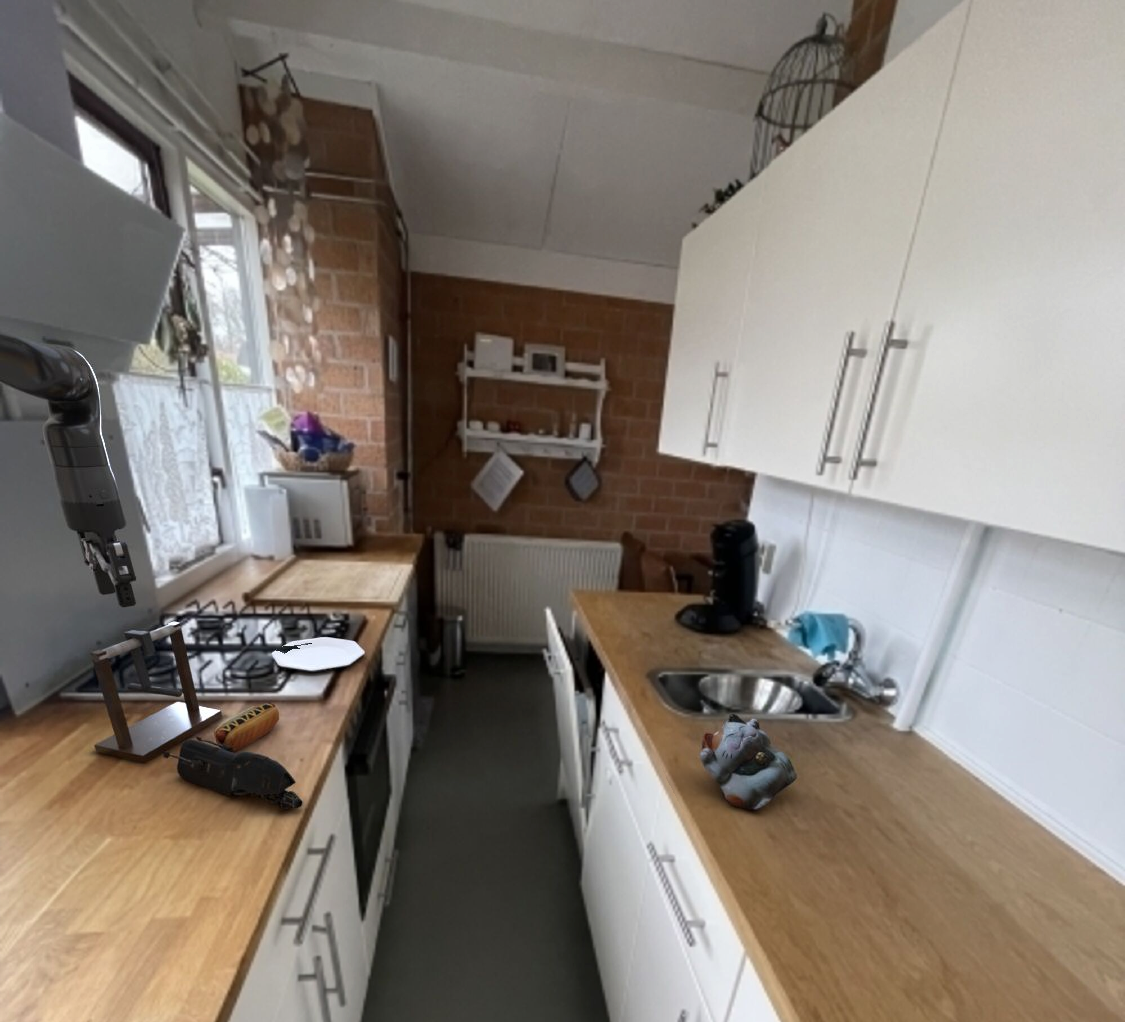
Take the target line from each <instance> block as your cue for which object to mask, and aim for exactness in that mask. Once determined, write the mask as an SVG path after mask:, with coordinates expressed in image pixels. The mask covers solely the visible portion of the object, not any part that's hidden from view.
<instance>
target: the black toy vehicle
mask: <svg viewBox="0 0 1125 1022" xmlns="http://www.w3.org/2000/svg"><path fill="white" fill-rule="evenodd" d="M195 738H196V739H192V738H191V739H189V738H188V739H185V740H184V742H183V743H182V744H181V747H180V750H179V755H176V754H175V753H171V752H169V751H167V750H166V751H165V752H163V758H164V759H166V760H167V759H168V758H169V757H171V758H175V759H177V765H176V772H177V774H178V776H179V777H180V778H181V779H183V780H185V781H188V782H191V783H194V784H196V785H199V786H200V787H205V788H207V789H209V790H213V791H215V792H217V793H221V794H223V795H226V796H228V797H231V798H233V797H234V796H235V795H236V796H245V795H249V794H251V796H252V797H255V798H257V799H261V800H265V801H267V803H269V804H272V805H275V806H278V807H281V808H282V809H283V810H294V809H299V808H301V807H302V806H303V802H304V801H303V800H302V799H301V798H300V797H299V795H298V794H297V793H296V792H295V791H293V790H289V791H288V790H287V789H288V788H290V787H291V786H293V785H295V784H297V782H296V780H295V778H294V777H293V776H292V774H290V773H289V772H290V771H288V770H287V769H286V767H285V766H283V765H282V764H281V763H280V762H278V761H277V760H275V759H272V758H270V757H269V756H266V755H263V754H260V753H255V752H251V751H241V752H238V753H235V752H234V750H233V749H232V748H231V747H230V746H227V745H222V744H217V742H216V741H212V740H210V739H206V738H203V737H201V736H196V737H195Z"/></svg>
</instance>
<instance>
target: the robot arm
mask: <svg viewBox="0 0 1125 1022" xmlns="http://www.w3.org/2000/svg"><path fill="white" fill-rule="evenodd" d="M0 384H1V385H4V386H6V387H8V388H10V389H13V390H16V391H18V392H20V393H23V394H26V395H28V396H30V397H34V398H38V399H41V400H44V401H46V403H47V410H48V419H47V421H45V423H44V424H43V426H42V434H43V435H42V436H43V440H44V443H45V447H46V449H47V454H48V458H49V460H50V461H49V462H50V465H51V468H52V476H53V481H54V486H55V489H56V492H57V496H58V499H59V502H60V506H61V509H62V512H63V516H64V520H65V522H66V526H67V528H68V529H70V530H71V531H73V532H76V535H77V538H78V541H79V545H80V548H81V549H80V550H81V553H82V556H83V560H84V564H85V565H86V566H89V570H90V571H91V573H92V572H93V576H94V580H95V583H96V587H97V591H98V593H99V594H100V595H102V596H105V595H112V594H115V596H116V600H117V603H118V605H119V606H120V607H121V608H130V607H134V606H136V605H137V602H136V598H135V594H134V590H133V587H132V583H133V582H137V575H136V573H135V569H134V566H133V562H132V559H131V556H130V552H129V551H130V550H129V547H128V544H127V542H125V541H120V540H118V538H117V535H116V533H115V532H116V531H117V530H122V529H124V528H125V527H126V526H127V521H126V516H125V512H124V509H123V508H124V507H123V505H122V501H121V496H120V491H119V489H118V488H119V487H118V484H117V481H116V478H115V475H114V473H113V470H112V467H111V464H110V460H109V457H108V453H107V449H106V446H105V445H106V444H105V441H104V438H103V435H102V413H101V399H100V391H99V390H100V389H99V385H98V381H97V378H96V374H95V372H94V371H93V368H92V367H91V364H89V362H88V361H87V360H86V358H85V357H84V356H83V355H82V354H81V353H80V352H78V351H77V350H75V349H73V348H71V347H69V346H66V345H61V344H52V343H43V342H39V341H36V340H31V339H28V338H24V337H22V336H19V335H16V334H12V333H9V332H6V331H2V330H1V329H0ZM120 571H121V572H122V574H121V573H120Z"/></svg>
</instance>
